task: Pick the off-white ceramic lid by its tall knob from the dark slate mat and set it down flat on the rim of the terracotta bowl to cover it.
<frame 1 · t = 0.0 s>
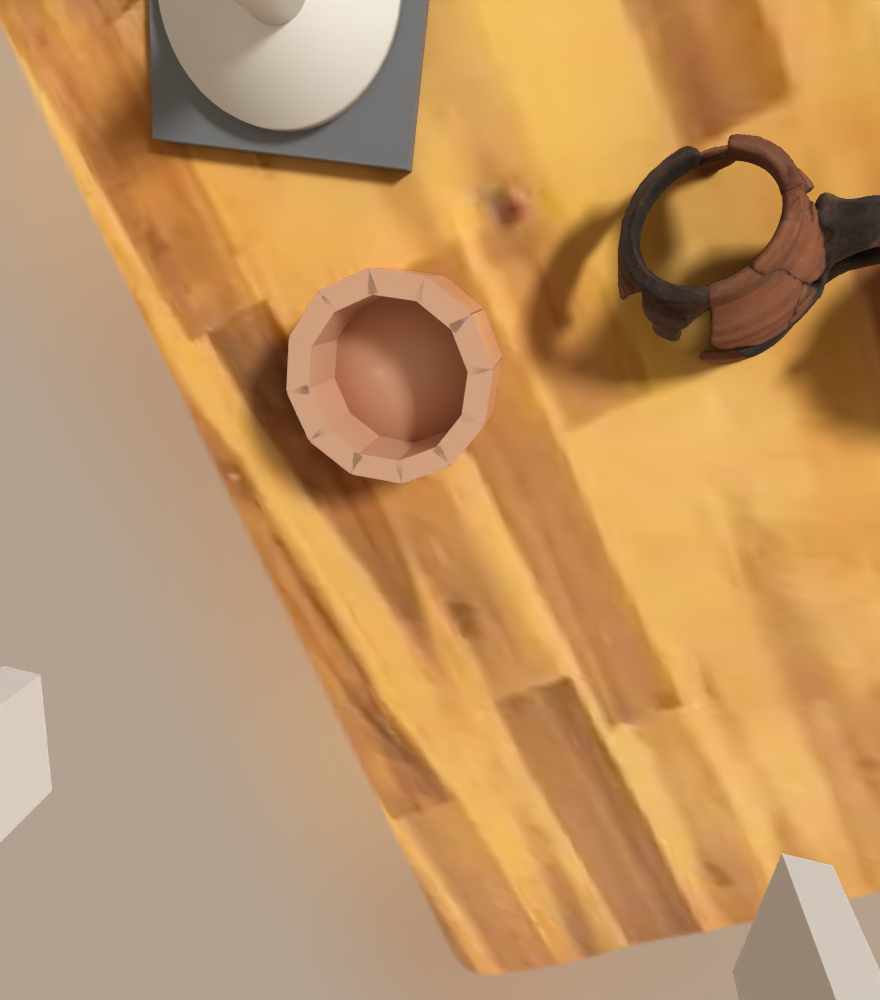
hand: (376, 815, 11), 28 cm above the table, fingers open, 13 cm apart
bowl: (408, 367, 37), on the table
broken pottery: (736, 258, 33), on the table
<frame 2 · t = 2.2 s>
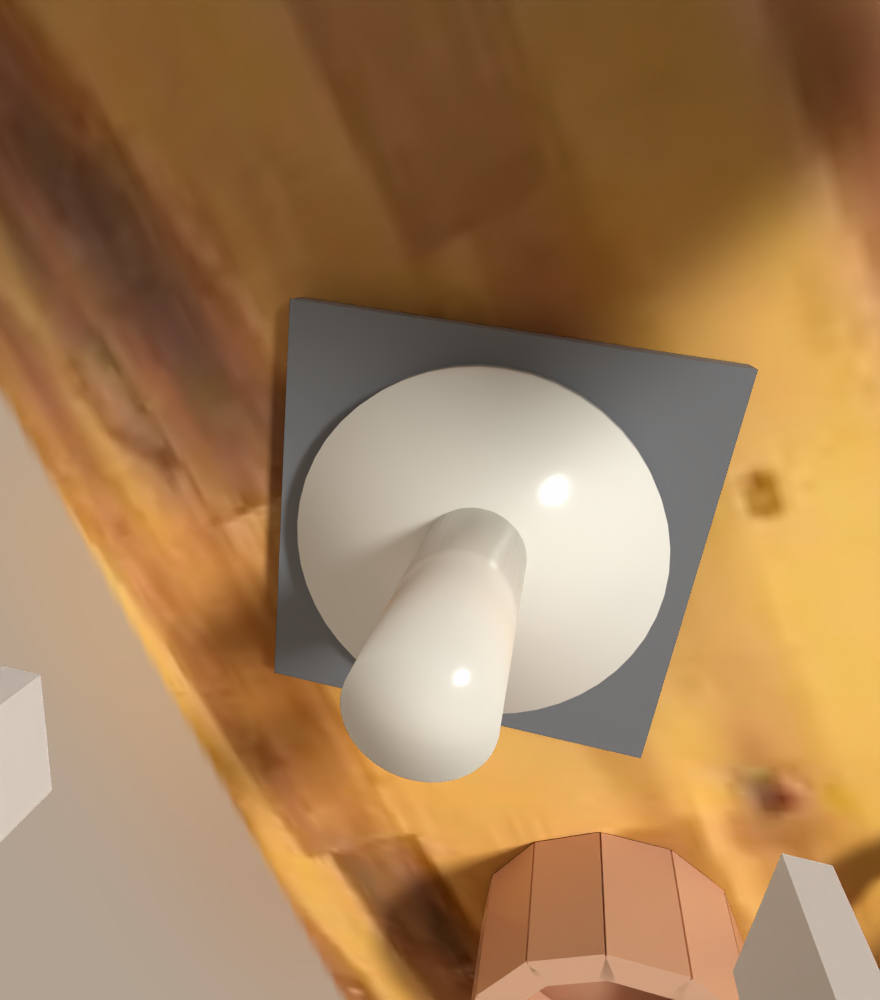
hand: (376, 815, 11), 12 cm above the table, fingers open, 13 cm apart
mat: (481, 533, 23), on the table
bowl: (606, 931, 28), on the table
lid: (478, 544, 22), point 1 cm above the table, touching mat
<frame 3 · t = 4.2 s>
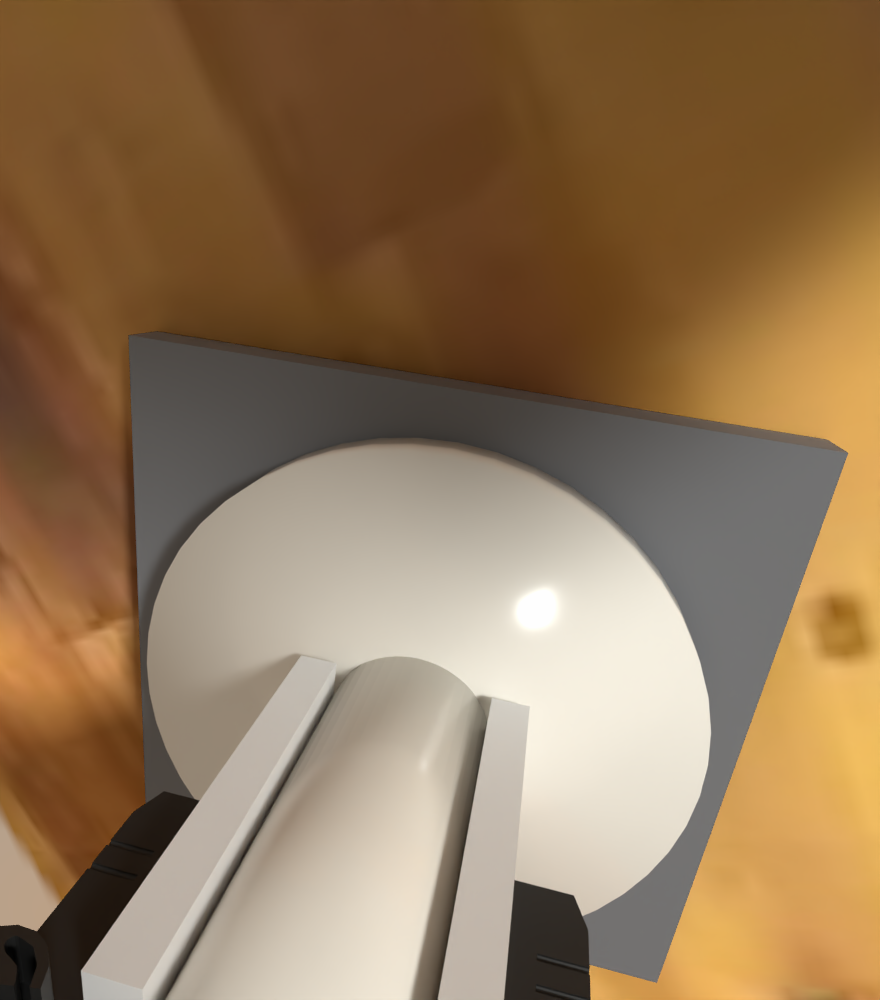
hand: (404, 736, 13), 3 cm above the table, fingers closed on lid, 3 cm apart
mat: (428, 667, 16), on the table
lid: (418, 697, 15), point 1 cm above the table, touching gripper
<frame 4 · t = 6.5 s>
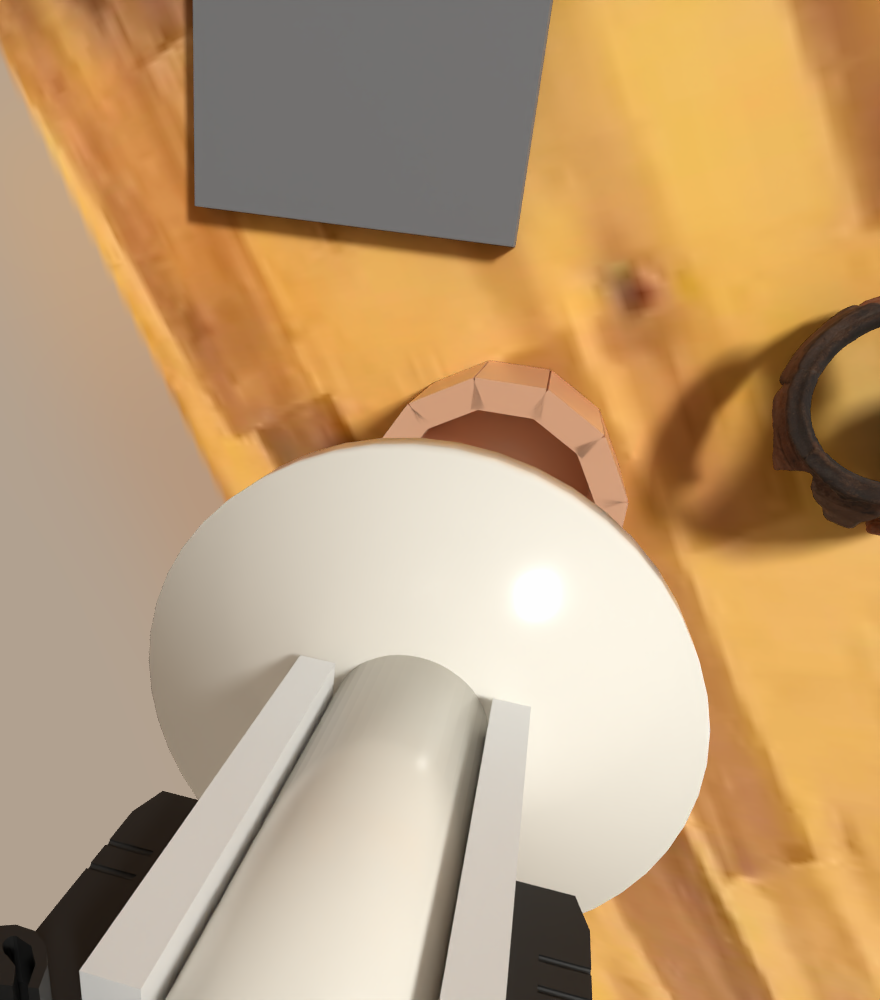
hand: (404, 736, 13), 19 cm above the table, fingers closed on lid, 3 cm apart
mat: (369, 37, 26), on the table
bowl: (501, 474, 31), on the table
lid: (418, 696, 15), point 17 cm above the table, touching gripper
when the fingers open (7 cm above the table, at t = 9.2 s): lid stays where it is, resting on bowl.
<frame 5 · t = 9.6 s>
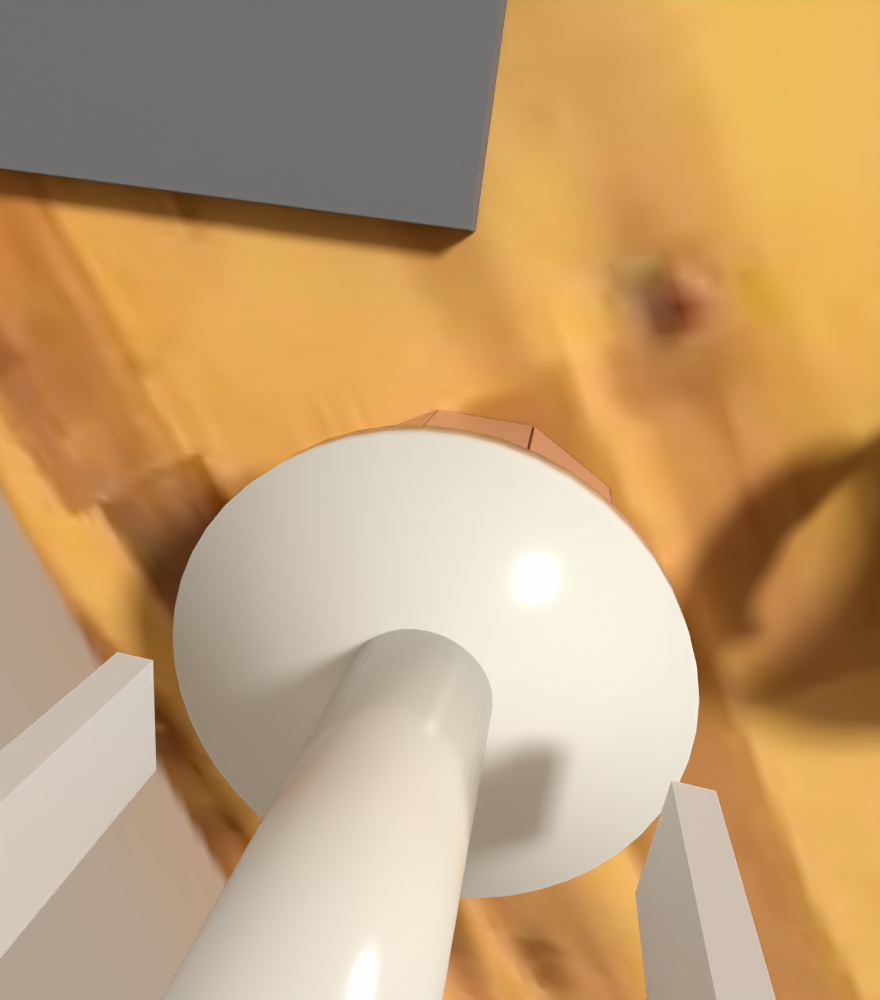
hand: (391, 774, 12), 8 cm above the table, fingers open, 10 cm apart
bowl: (459, 580, 20), on the table
lid: (426, 670, 16), point 5 cm above the table, touching bowl
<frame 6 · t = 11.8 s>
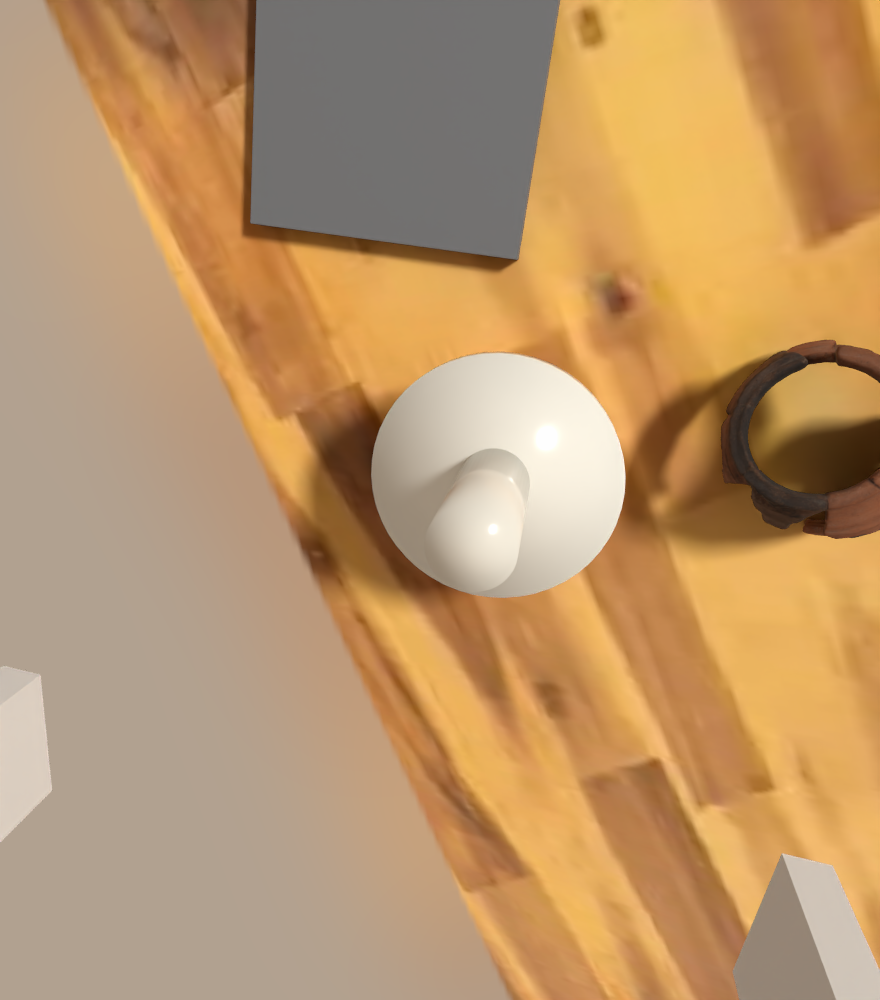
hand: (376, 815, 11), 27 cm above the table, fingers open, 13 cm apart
mat: (399, 87, 32), on the table
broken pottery: (833, 430, 33), on the table
lid: (496, 477, 32), point 5 cm above the table, touching bowl
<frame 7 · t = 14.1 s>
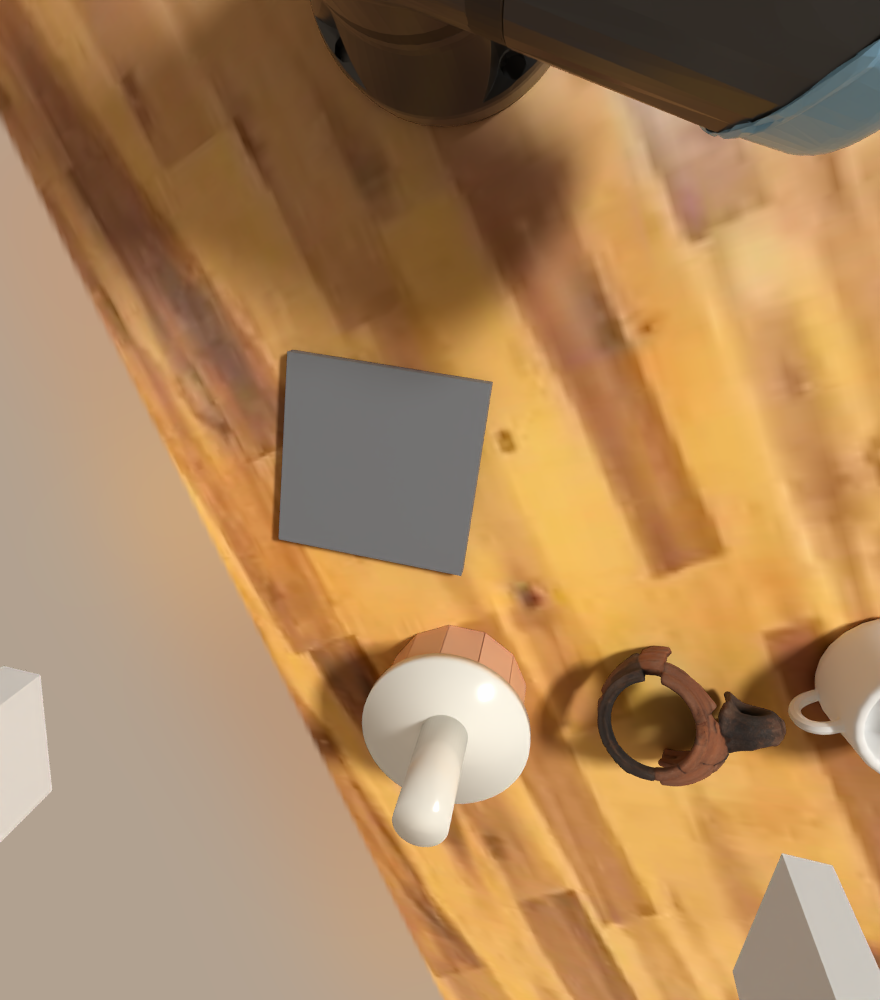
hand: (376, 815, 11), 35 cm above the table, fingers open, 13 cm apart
mat: (380, 463, 47), on the table
bowl: (457, 685, 51), on the table
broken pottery: (679, 694, 49), on the table
mug: (867, 674, 45), on the table
lid: (446, 726, 47), point 5 cm above the table, touching bowl
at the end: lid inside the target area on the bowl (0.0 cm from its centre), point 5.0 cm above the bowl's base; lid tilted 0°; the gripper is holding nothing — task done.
